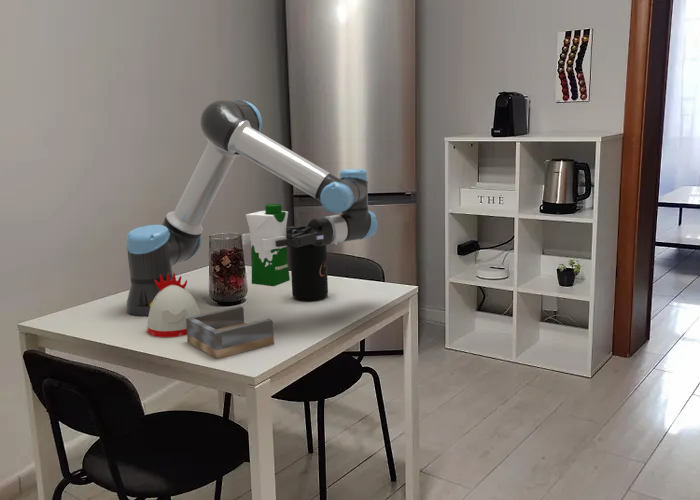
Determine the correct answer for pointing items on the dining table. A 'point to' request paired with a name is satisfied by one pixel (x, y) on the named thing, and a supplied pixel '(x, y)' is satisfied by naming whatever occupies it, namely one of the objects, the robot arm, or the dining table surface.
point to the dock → (228, 332)
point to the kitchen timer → (171, 309)
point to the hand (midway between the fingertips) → (252, 242)
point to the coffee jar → (309, 272)
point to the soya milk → (268, 263)
